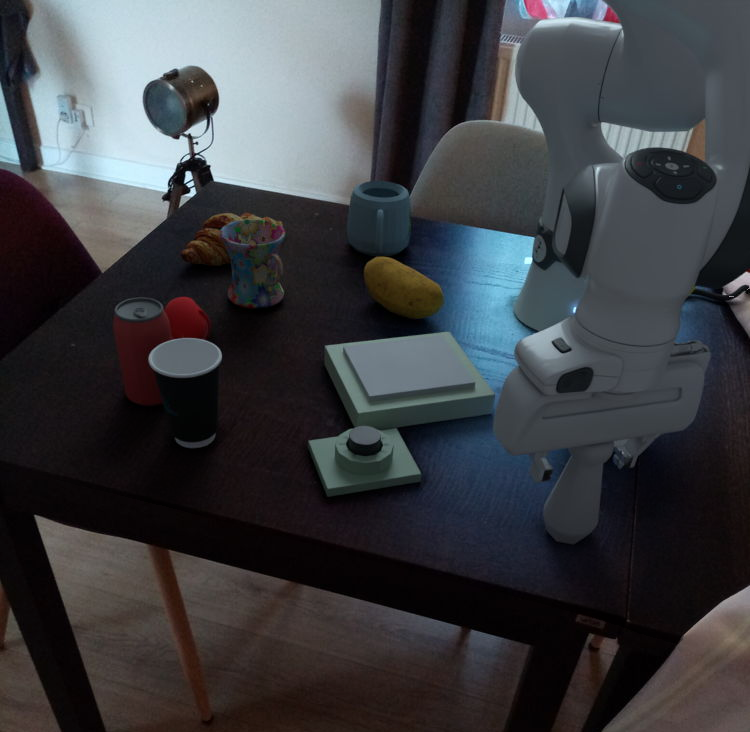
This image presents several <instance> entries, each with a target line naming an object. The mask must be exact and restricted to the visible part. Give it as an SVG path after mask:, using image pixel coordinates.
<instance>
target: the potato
mask: <svg viewBox="0 0 750 732" xmlns="http://www.w3.org/2000/svg"><path fill="white" fill-rule="evenodd" d="M363 277H364V283H365V285H366V288H367V292H368V294H369V295H370V297H372V299H373V300H375V301H376V302H377V303H378V304H379V305H381V306H382V307H383V308H384V309H386V310H388V311H389V312H390V313H393V314H395V315H397V316H400V317H404V318H408V319H411V320H420V319H425V318H429V317H431V316H433V315H435V314H437V313H438V312H439V311H440V310H441V308H443V306H444V294H443V289H442V288H441V286H440V284H439V283H437V282H436V281H433V280H432V279H431V278H429V277H427V276H425V275H424V274H423V273H422V272H421V273H420V272H419V271H417V270H416V269H414V268H412V267H410V266H408V265H406V264H403V263H402V262H400V261H398V260H396V259H394V258H392V257H389V256H374V258H372V259H371V260H369V261H367V262H366V264H365V266H364V268H363Z"/></svg>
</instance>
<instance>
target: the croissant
mask: <svg viewBox="0 0 750 732" xmlns="http://www.w3.org/2000/svg"><path fill="white" fill-rule="evenodd" d="M246 219H259V220H266V221H270V222H274V223H276V224H278V225H280V226H281V227H282V228H283V229H284V224H283V222H282V220H274V219H273V218H271V217H269V216H264V217H263V218H262V217H260V216H256V215H255V214H252V213H251V212H245V213H243V214H241V215H240V216H238V215H236V214H234V213H232V212H225V213H219V214H215V215H213V216H211V217H209V218H208V219H207V220H206V221H204V222H203V224H202V227H201V230H198V231H197V232H196V233H195V235H194V237H193V240H191V241H190V242H189V243H187V244H186V246H185V247H184V249H183V250H181V251H180V257H181V258H182V260H183V261H185V262H186V263H189V264H194V265H204V266H209V267H211V266H212V267H219V266H222V265H227V264H229V265H230V264H231V260H230V257H229V253H228V251H227V248H226V246H225V244H224V242H223V240H222V238H221V236H220V231H221V229H222V228H223V227H224V226H225V225H227V224H229V223H231V222H234V221H238V220H246Z"/></svg>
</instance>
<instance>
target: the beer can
mask: <svg viewBox="0 0 750 732" xmlns="http://www.w3.org/2000/svg"><path fill="white" fill-rule="evenodd" d="M113 312H114V316H113V321H112V330H113V335H114V341H115V346H116V350H117V356H118V361H119V367H120V371H121V377H122V382H123V386H124V392H125V396H126V397H127V399H128V400H129V401H131V402H132V403H134V404H135V405H138V406H142V407H156V406H161V405H163V402H162V398H161V395H160V391H159V388H158V384H157V381H156V378H155V374H154V371H153V369H152V368H151V366H150V364H149V361H148V358H149V355H150V353H151V351H152V350H153V349H154V348H156V347H157V346H158V345H160V344H162V343H164V342H167V341H170V340H172V335H171V328H170V322H169V319H168V317H167V315H166V313H165V311H164V305H163V304H162V302H160V301H159V300H156V299H154V298H150V297H132V298H128V299H125V300H123V301H120V302H119V303H118V304H117V305H116V306H115V308H114V311H113Z"/></svg>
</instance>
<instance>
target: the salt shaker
mask: <svg viewBox="0 0 750 732" xmlns="http://www.w3.org/2000/svg"><path fill="white" fill-rule="evenodd" d="M567 449H568V452H569V454H570V457H569V458H568V461H567V463H566V464H565V466H564V468H563V470H562V472H561V474H560V475H559V477H558V479H557V480H556V483H555V485H554V486H553V488H552V490H551V492H550V494H549V495H548V497H547V499H546V501H545V503H544V504H543V509H542V520H543V523H544V527H545V530H546V532H547V533H548V534H549V535H550V536H551V537H552V538H553V539H554V540H555V541H556V542H557V543H562V544H569V545H575V544H576V543H578V542H580V541H581V540H583V539H584V538H586V537H587V536H589V535H590V534H591V533H592V532H593V531H594V530H595V529H596V527H597V526H598V524H599V517H600V505H601V494H602V483H603V472H604V463H606V462H607V461H609V459H610V458H611V457H612V455H613V454H614V453H613V450H614V441H611V442H604V443H597V444H591V445H584V446H577V447H571V448H567Z"/></svg>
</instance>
